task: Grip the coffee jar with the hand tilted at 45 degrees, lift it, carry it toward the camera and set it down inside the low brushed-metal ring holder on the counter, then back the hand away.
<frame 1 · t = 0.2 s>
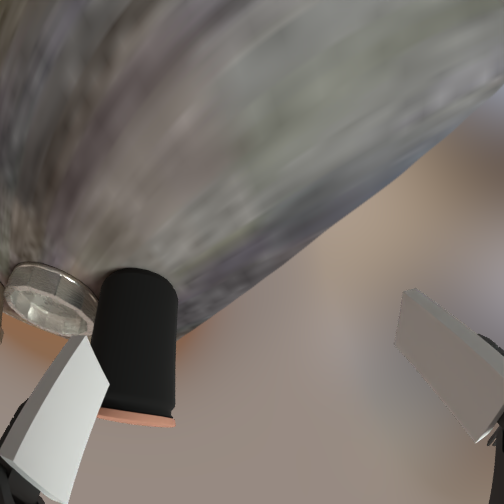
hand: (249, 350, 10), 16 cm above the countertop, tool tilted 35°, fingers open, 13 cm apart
cup bracket: (53, 293, 35), on the countertop
coffee jar: (140, 287, 35), on the countertop
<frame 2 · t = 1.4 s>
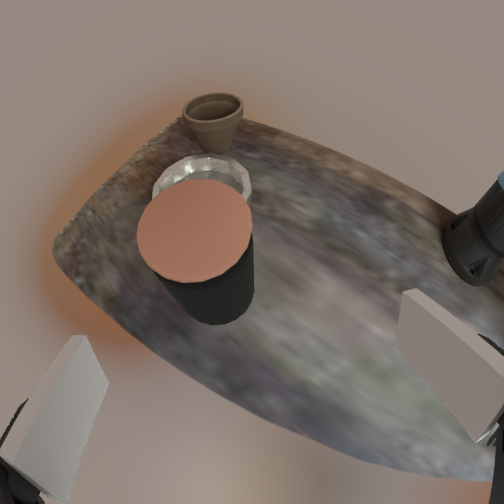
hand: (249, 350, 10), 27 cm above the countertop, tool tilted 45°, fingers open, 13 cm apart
cup bracket: (203, 202, 47), on the countertop
flower pot 2: (217, 144, 54), on the countertop
coffee jar: (217, 291, 40), on the countertop
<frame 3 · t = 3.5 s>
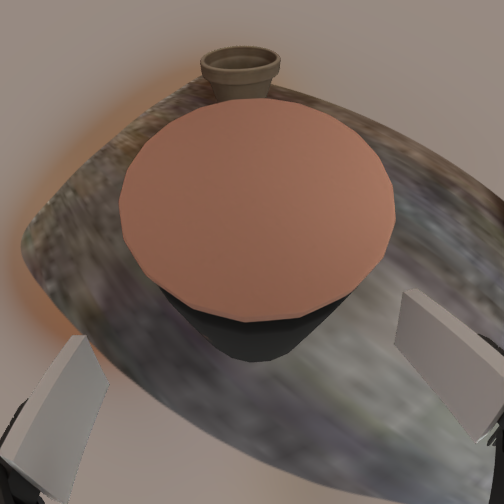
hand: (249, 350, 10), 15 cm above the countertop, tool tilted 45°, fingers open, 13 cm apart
flower pot 2: (241, 109, 40), on the countertop
coffee jar: (255, 308, 26), on the countertop
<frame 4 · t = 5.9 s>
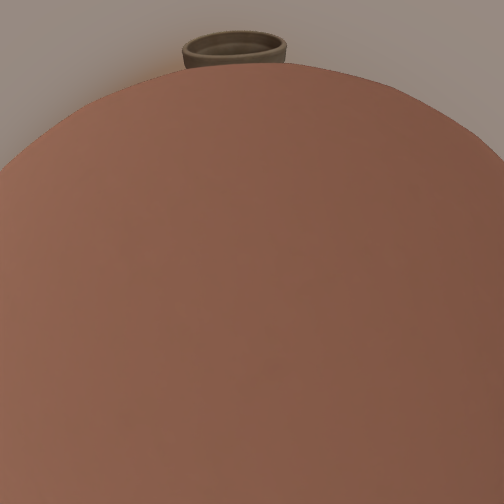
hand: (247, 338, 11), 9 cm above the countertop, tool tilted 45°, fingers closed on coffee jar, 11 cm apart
flower pot 2: (236, 110, 32), on the countertop
coffee jar: (256, 397, 17), on the countertop, touching gripper
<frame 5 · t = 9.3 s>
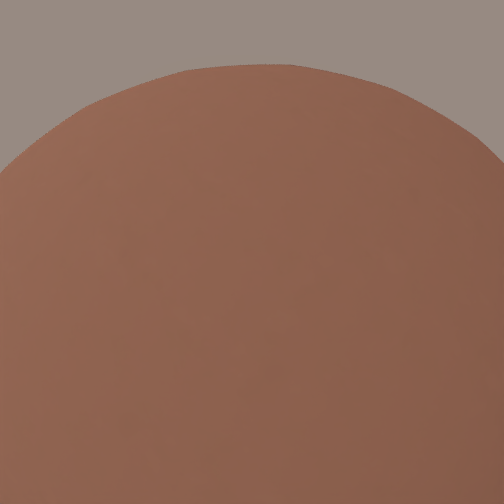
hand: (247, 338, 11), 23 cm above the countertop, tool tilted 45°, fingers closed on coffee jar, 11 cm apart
coffee jar: (256, 397, 17), point 14 cm above the countertop, touching gripper
when the fingers open (11 cm above the countertop, at t = 13.0 s): coffee jar drops 1 cm, resting on cup bracket.
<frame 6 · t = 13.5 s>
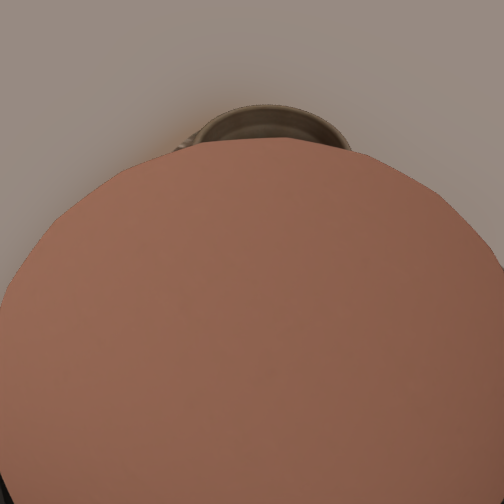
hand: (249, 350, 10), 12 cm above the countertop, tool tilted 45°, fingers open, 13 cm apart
flower pot 2: (267, 224, 27), on the countertop
coffee jar: (256, 397, 19), point 1 cm above the countertop, touching cup bracket
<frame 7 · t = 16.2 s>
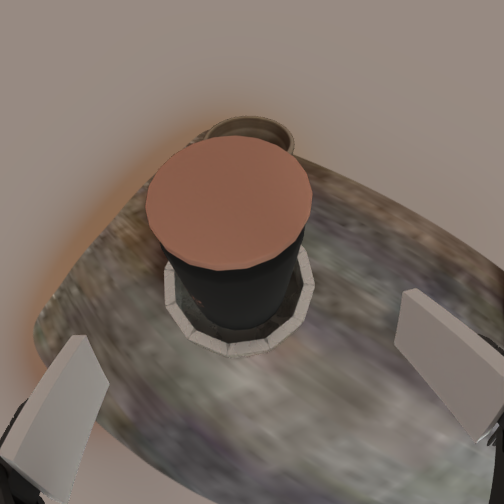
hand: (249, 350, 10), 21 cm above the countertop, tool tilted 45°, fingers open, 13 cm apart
cup bracket: (239, 290, 33), on the countertop
flower pot 2: (248, 190, 41), on the countertop
coffee jar: (239, 289, 33), point 1 cm above the countertop, touching cup bracket
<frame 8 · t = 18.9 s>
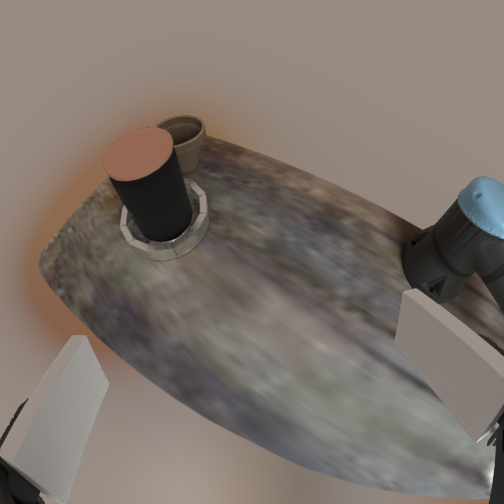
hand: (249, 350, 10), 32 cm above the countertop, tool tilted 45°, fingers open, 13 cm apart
cup bracket: (167, 222, 51), on the countertop
flower pot 2: (185, 164, 58), on the countertop
coffee jar: (166, 221, 50), point 1 cm above the countertop, touching cup bracket
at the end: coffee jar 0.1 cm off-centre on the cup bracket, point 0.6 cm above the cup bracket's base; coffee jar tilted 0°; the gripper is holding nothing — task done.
